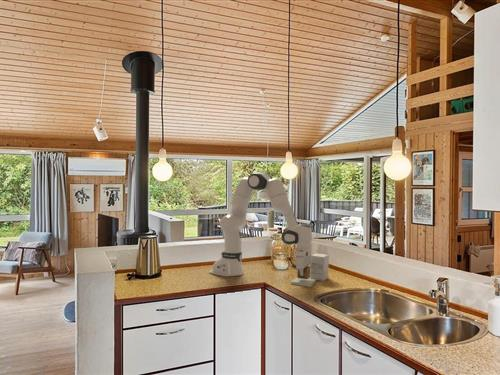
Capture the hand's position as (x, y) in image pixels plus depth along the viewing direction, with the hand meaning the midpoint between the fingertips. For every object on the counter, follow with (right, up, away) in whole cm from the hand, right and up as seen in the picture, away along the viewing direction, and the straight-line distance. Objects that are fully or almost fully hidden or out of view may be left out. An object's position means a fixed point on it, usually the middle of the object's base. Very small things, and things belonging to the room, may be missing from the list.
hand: (303, 274), depth 238 cm
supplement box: (+11, -6, +11) cm, 17 cm away
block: (0, -2, 0) cm, 2 cm away
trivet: (0, -5, 0) cm, 5 cm away
